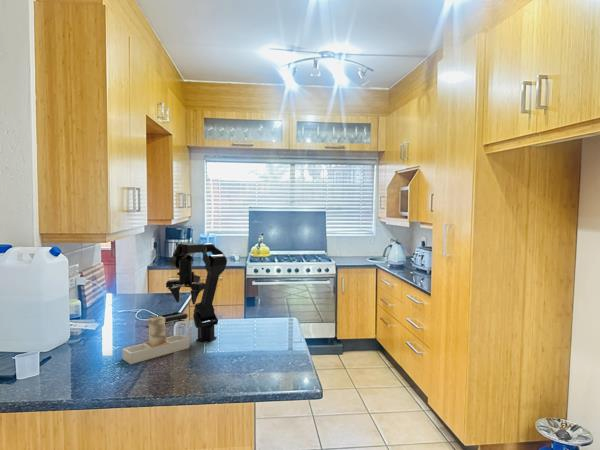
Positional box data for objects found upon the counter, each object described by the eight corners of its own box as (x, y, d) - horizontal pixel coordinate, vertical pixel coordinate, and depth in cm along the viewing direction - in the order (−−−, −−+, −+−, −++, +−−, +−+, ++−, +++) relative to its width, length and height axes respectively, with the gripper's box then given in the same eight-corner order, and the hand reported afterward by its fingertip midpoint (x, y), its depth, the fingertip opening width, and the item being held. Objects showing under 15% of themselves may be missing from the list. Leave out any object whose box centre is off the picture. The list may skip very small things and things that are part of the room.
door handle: (138, 316, 202) (151, 320, 191) (175, 309, 216) (189, 313, 204) (138, 322, 202) (151, 327, 191) (175, 315, 216) (189, 319, 204)
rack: (180, 343, 168) (180, 333, 168) (189, 347, 163) (189, 337, 163) (122, 358, 151) (122, 347, 151) (130, 364, 146) (130, 352, 146)
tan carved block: (161, 347, 160) (160, 316, 160) (165, 350, 157) (165, 318, 157) (149, 350, 157) (148, 318, 156) (153, 353, 154) (152, 320, 153)
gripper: (212, 268, 187) (212, 301, 188) (181, 266, 195) (181, 297, 195) (197, 272, 177) (198, 307, 178) (165, 269, 185) (165, 302, 185)
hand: (185, 303), depth 184 cm, fingers open, 9 cm apart
